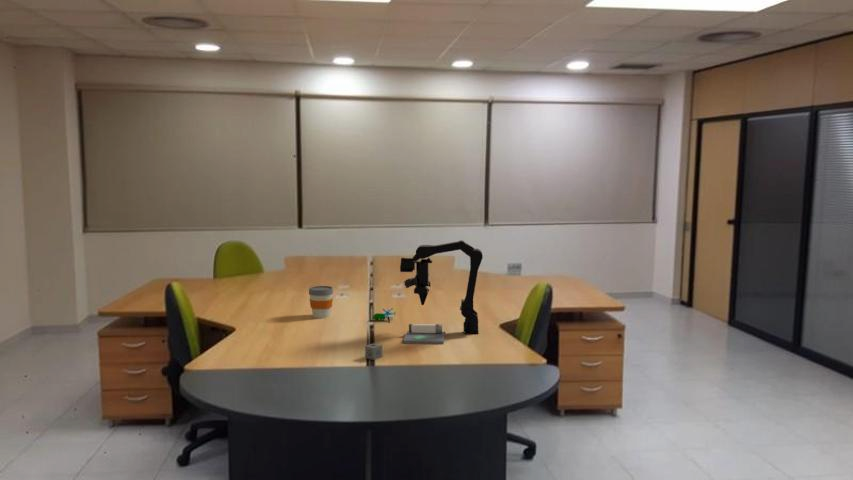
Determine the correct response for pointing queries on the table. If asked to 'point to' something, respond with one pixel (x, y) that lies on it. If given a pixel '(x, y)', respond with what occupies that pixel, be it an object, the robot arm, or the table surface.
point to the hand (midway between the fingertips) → (422, 304)
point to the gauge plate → (424, 338)
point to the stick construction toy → (383, 315)
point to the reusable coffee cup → (321, 301)
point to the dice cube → (373, 351)
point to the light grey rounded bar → (425, 328)
